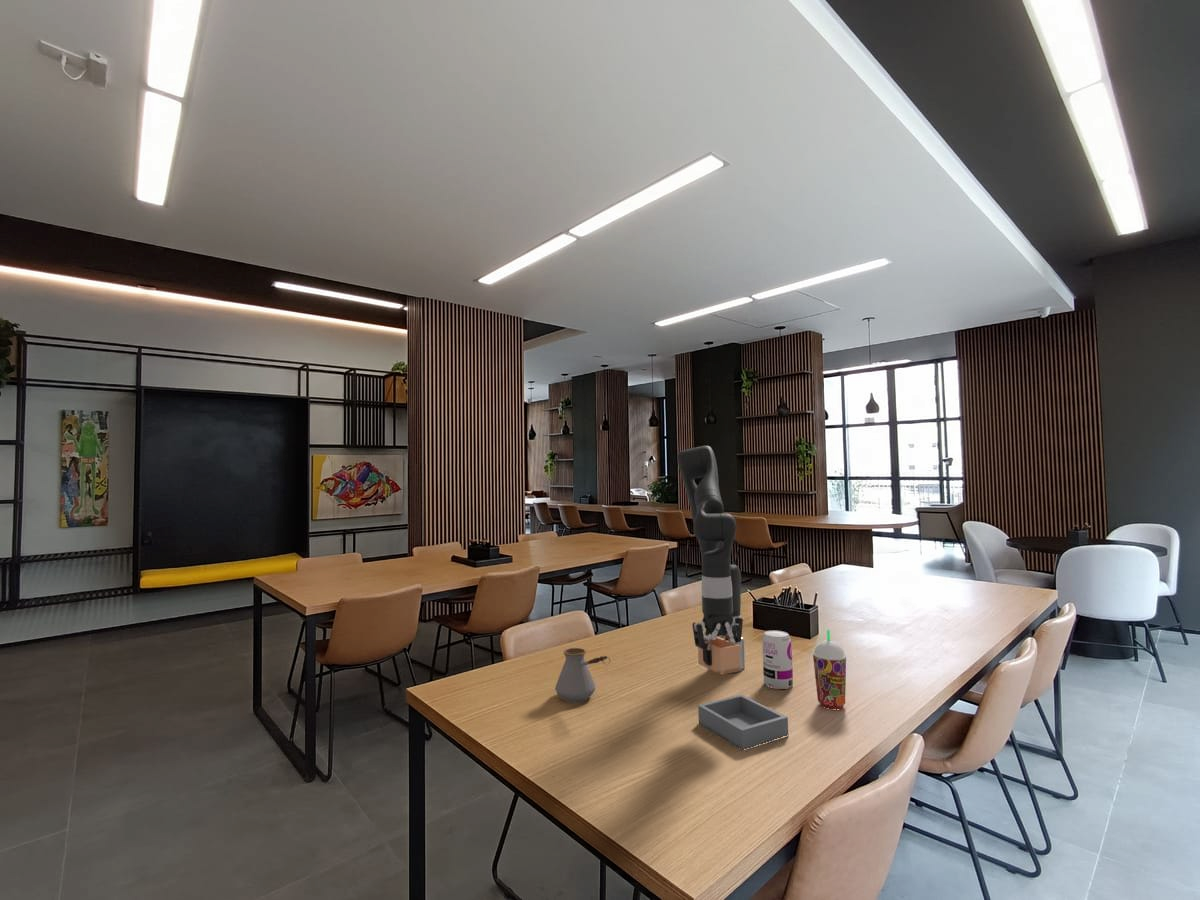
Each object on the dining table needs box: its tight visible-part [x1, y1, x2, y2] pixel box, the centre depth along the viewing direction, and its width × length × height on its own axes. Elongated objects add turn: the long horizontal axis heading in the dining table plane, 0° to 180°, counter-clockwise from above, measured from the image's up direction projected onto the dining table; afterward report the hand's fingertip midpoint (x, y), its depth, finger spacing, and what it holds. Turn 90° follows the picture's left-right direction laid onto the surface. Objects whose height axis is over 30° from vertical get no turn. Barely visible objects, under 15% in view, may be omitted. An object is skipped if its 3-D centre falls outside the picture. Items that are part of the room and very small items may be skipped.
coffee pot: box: [555, 647, 611, 704], centre depth 151 cm, size 21×12×15 cm, turn 36°
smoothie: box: [812, 629, 847, 711], centre depth 145 cm, size 8×8×20 cm
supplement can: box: [761, 629, 794, 690], centre depth 161 cm, size 8×8×15 cm
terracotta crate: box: [697, 637, 742, 675], centre depth 135 cm, size 6×9×6 cm, turn 25°
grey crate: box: [697, 694, 789, 751], centre depth 132 cm, size 14×16×4 cm
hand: (719, 662), depth 135 cm, fingers closed on terracotta crate, 6 cm apart
